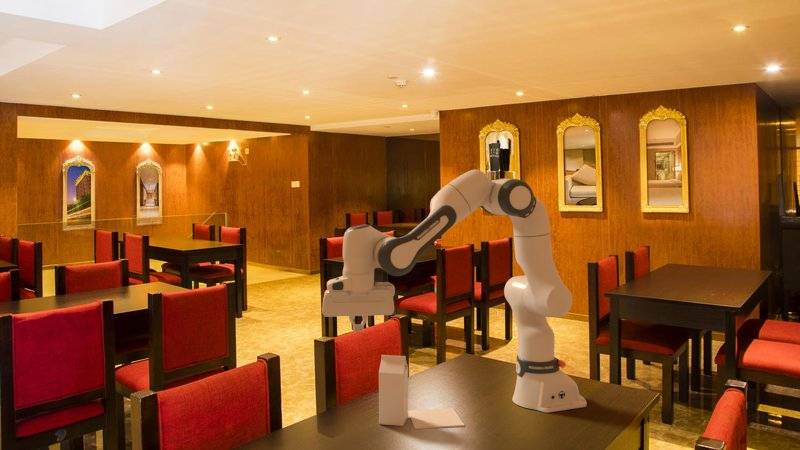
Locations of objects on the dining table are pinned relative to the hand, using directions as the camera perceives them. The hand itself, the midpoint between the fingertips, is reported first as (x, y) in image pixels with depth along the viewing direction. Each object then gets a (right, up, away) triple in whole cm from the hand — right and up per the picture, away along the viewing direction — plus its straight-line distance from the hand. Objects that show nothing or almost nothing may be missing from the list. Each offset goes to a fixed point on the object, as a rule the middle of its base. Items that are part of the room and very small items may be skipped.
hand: (358, 331), depth 165 cm
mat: (+22, -26, +4) cm, 34 cm away
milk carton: (+10, -27, +3) cm, 28 cm away
